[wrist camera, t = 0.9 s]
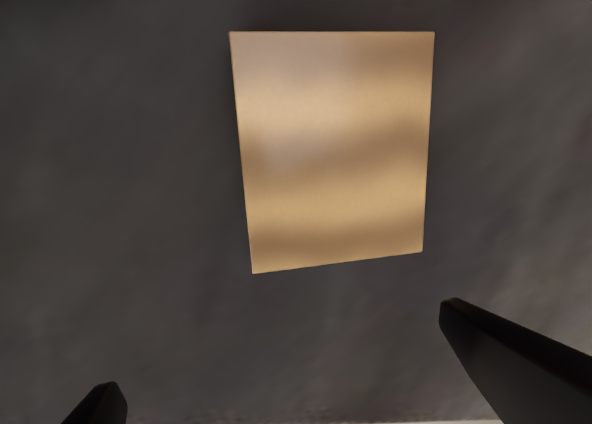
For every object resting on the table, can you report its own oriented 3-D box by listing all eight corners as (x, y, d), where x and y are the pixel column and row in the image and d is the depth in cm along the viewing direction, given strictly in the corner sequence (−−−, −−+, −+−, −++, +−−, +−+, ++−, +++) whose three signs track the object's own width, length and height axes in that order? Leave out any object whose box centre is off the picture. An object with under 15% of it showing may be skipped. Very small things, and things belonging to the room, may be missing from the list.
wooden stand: (400, 238, 24) (422, 252, 21) (250, 256, 22) (252, 274, 19) (407, 45, 21) (435, 31, 18) (229, 47, 19) (228, 30, 16)
